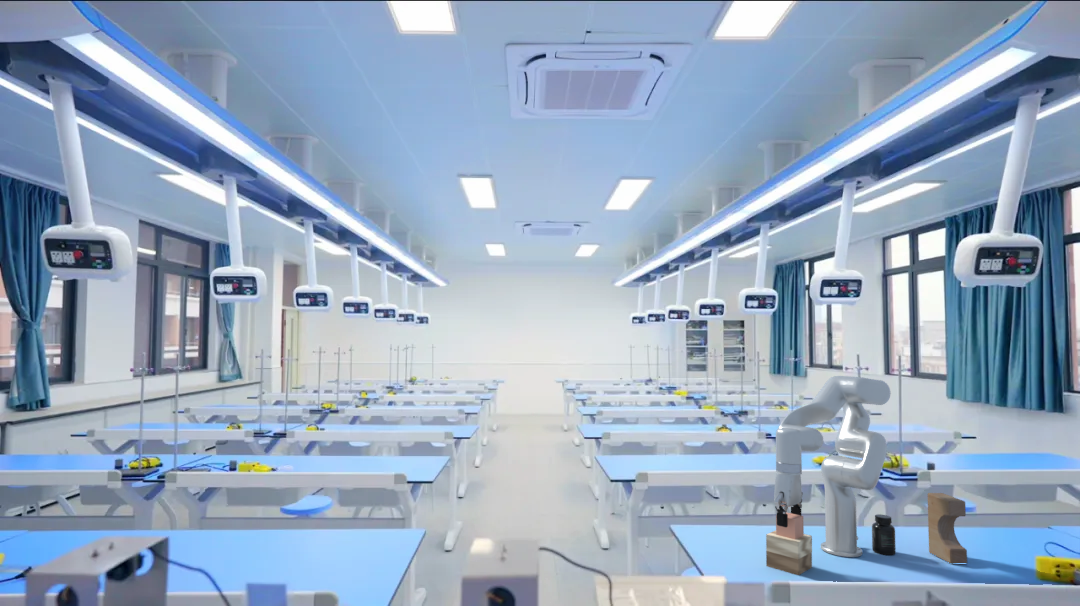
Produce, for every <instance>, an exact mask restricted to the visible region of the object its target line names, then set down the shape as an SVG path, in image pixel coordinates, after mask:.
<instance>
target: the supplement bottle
mask: <svg viewBox="0 0 1080 606" xmlns="http://www.w3.org/2000/svg"><path fill="white" fill-rule="evenodd" d="M874 521H875V522H873V523H872V525H871V547H872V551H873V553H875V554H877V555H882V556H888V557H889V556H890V557H891V556H895V555H896V553H897V552H896V551H897V550H896V549H897V548H896V528H895V526H894V525H893V524H892V523H893V522H892V516H890V515H886V514H881V513H880V514H879V513H877V514H875V515H874Z"/></svg>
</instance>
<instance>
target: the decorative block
mask: <svg viewBox="0 0 1080 606" xmlns="http://www.w3.org/2000/svg"><path fill="white" fill-rule="evenodd" d="M966 514H967V513H966V501H965V500H962V499H961V498H957V497H954V496H952V495H949V494H946V493H944V492H943V493H942V492H928V493H927V523H928V525H927V527H928V528H927V529H928V552H929V553H930V554H931V553H932V555H933V554H934V555H933V556H935V555H936V556H935V557H936V558H938V559H940V558H941V560H942V559H943V561H944V560H945V562H946V561H947V563H948V562H949V563H948V564H950V563H967V564H968V550H967V549H966V548H965V547H964V546H963V545H962V544H961V543H960V542H959V540H958V537H957V536H956V533H955V522H956V520H957V519H958V518H959V517H966Z"/></svg>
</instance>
